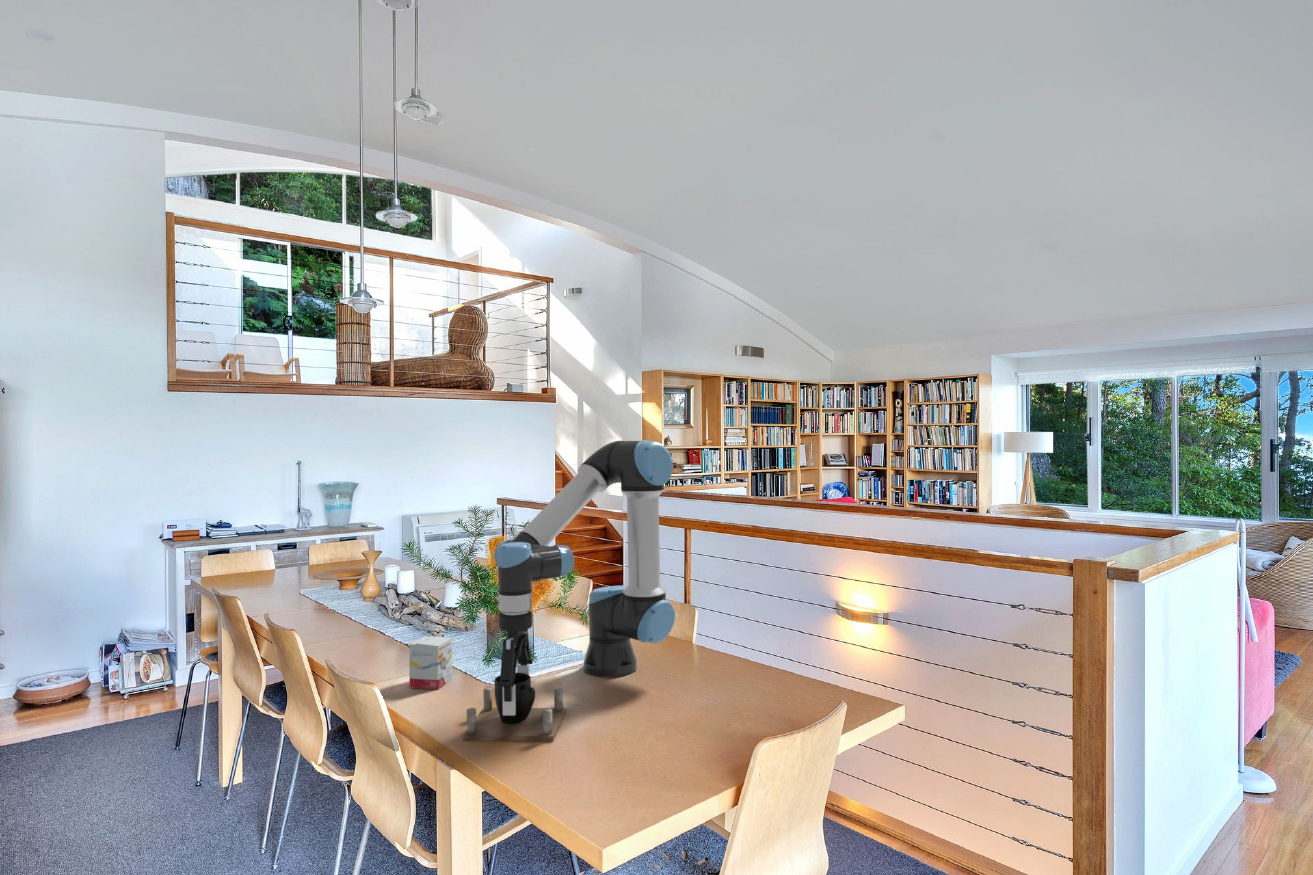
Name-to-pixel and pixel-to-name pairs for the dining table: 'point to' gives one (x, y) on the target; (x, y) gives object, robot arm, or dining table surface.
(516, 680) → the mug
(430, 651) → the ink box
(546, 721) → the brown board with pegs
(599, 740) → the dining table surface
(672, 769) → the dining table surface
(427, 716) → the dining table surface
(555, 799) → the dining table surface
